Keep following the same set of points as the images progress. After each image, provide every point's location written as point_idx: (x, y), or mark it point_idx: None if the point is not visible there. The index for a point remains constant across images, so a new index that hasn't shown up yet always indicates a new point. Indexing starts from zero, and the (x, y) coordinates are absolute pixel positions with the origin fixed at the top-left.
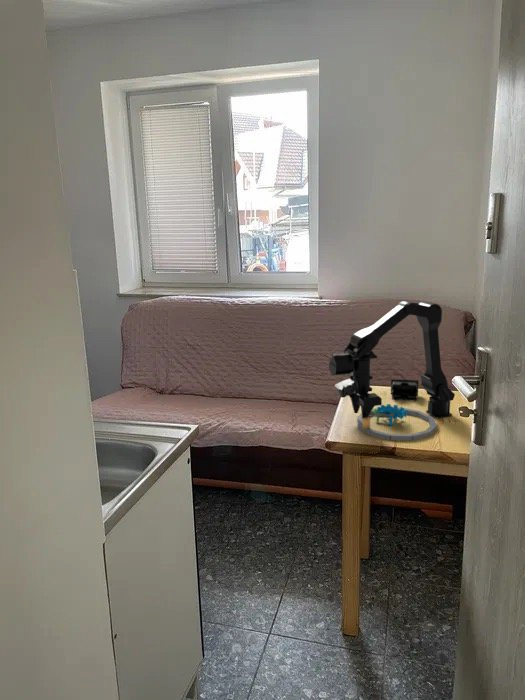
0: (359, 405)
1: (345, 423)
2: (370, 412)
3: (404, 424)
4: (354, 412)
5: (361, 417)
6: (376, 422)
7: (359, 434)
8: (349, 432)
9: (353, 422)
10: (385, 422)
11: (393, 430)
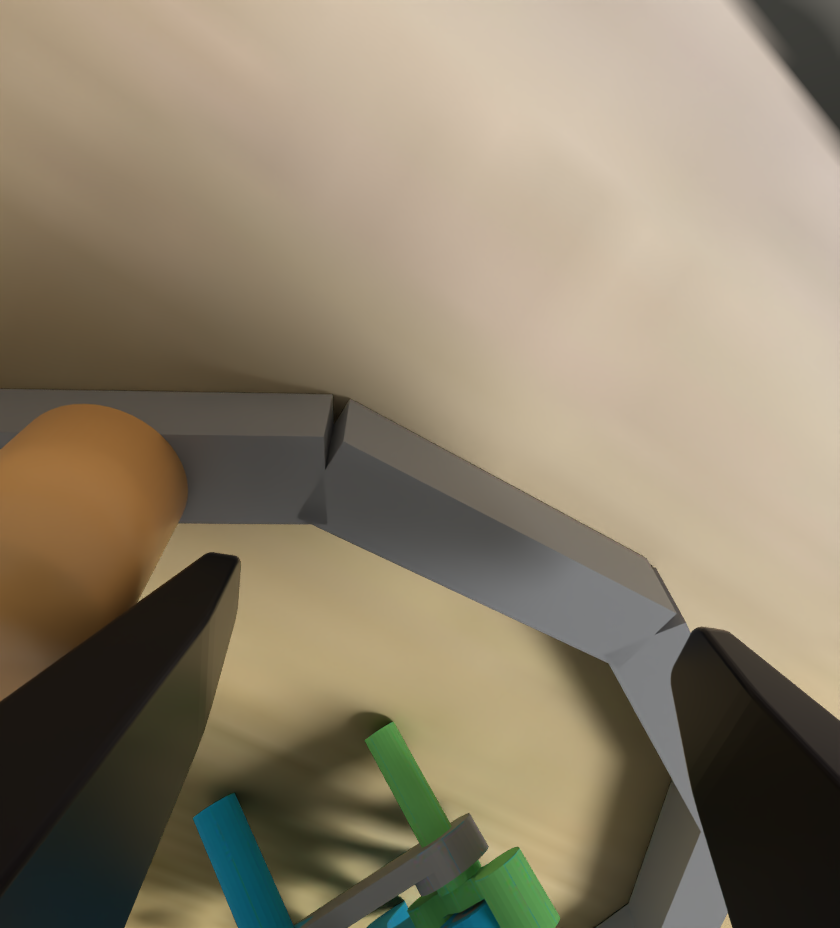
0: (735, 893)
1: (708, 318)
2: (688, 828)
3: (200, 905)
4: (716, 633)
5: (598, 651)
6: (386, 730)
7: (36, 230)
8: (225, 80)
9: (639, 475)
10: (359, 804)
11: None
